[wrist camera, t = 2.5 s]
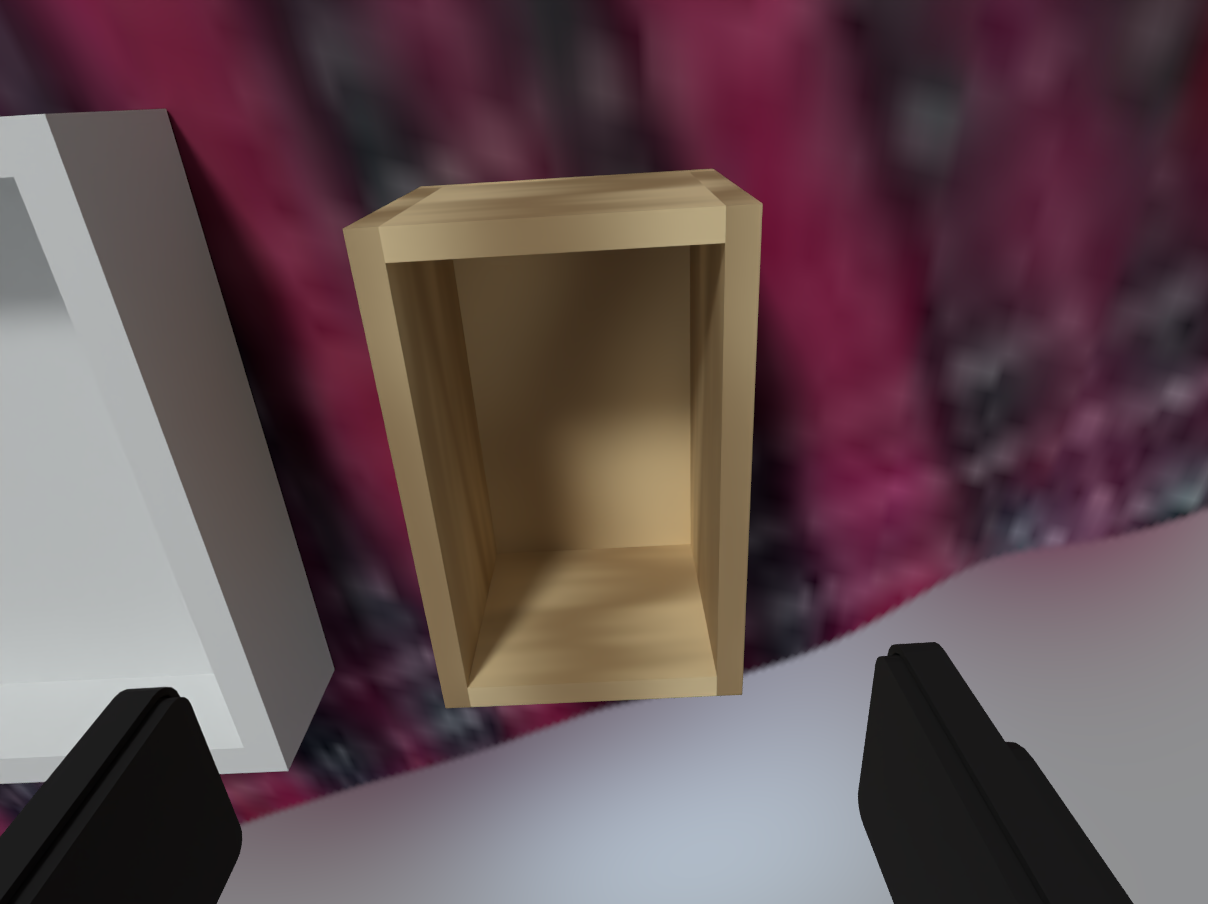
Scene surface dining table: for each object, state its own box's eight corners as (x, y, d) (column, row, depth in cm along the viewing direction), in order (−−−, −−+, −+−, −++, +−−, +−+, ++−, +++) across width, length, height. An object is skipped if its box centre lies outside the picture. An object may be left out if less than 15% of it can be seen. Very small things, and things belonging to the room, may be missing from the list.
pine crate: (711, 168, 17) (762, 203, 12) (707, 548, 22) (742, 694, 17) (422, 185, 17) (342, 228, 12) (482, 559, 22) (445, 708, 17)
